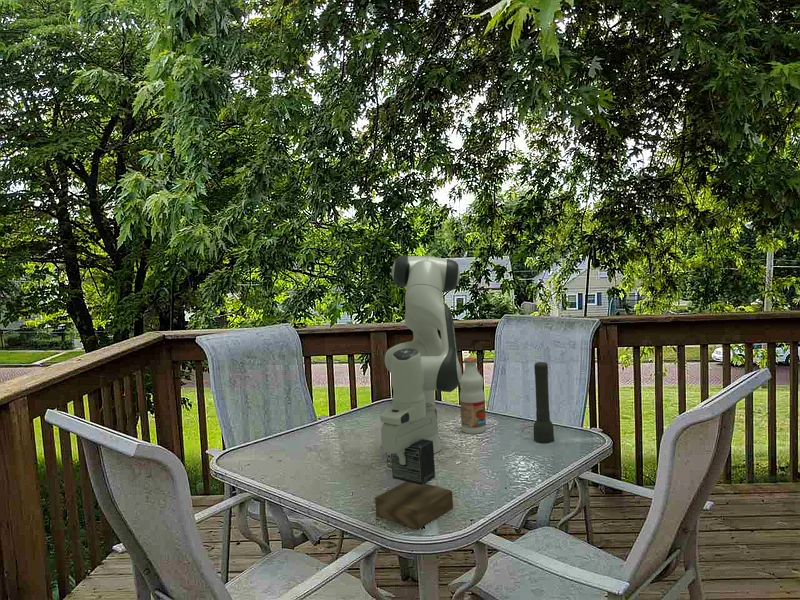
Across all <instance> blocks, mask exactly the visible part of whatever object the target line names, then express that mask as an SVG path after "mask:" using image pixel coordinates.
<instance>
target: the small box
mask: <svg viewBox="0 0 800 600" xmlns="http://www.w3.org/2000/svg"><path fill="white" fill-rule="evenodd" d="M434 454H435V453H434V450H433V441H430V440H424V439H423V440H420V441H418V442H416V443H414V444H412V445H410V446H409V447H408V448H405V452H404V455H405V457H408V463H407V464H405V465H401V464H400V462H399V457H398V456H397V454H396V453H395V454H391V453H390V457H391V472H392V473H391V474H392V479H394V480H398V481H399V480H400V481H401V482H406V481H407V482H411V483H415V484H419V485H424V484H428V482H430V481H432V480H434V479H436V468H435V466H436V465H435V455H434Z"/></svg>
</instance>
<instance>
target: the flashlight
mask: <svg viewBox="0 0 800 600" xmlns="http://www.w3.org/2000/svg"><path fill="white" fill-rule="evenodd" d="M533 365H534V367H533V368H534V382H535V407H536V408H535V415H536V420H535V421H534V422H533V423H534V424H533V442H535V441H536V442H535V443H538V444H551V443H553V442H554V441H555V437H554V436H555V434H554V433H555V432H554V430H555V429H554V425H553V422H552V421H551V417H550V398H549V396H550V395H549V365H548V363H547V362H543V361H539V362H535V363H534V364H533ZM550 442H551V443H550Z"/></svg>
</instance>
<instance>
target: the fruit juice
mask: <svg viewBox="0 0 800 600" xmlns="http://www.w3.org/2000/svg"><path fill="white" fill-rule="evenodd" d="M477 362H478V359H477V358H476V357H464V359H463V364H464V370H463V372H462V378H461V383H460V385H459V386H460V391H459V404H460V406H459V407H460V422H461V425H460V426H461V431H462V432H463V433H465V434H471V435H474V434H480V433H481V434H482V433H484V432H486V429H487V421H486V420H487V419H486V417H487V416H486V399H485V397H486V396H485V391H484V389H483V387H484V378H483V376H482V375H481V374H480V372H479V369H478V366H477Z"/></svg>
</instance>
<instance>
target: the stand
mask: <svg viewBox="0 0 800 600" xmlns="http://www.w3.org/2000/svg"><path fill="white" fill-rule="evenodd" d="M374 503H375V516H377V517H380V518H383V519H387V520H390V521H392V522H395V523H398V524H401V525H405V526H408V527H410V528H413V529H417V530H420V528H421V529H422V528H424V527H425V526H427V525H428V523H429V524H430V523H432V522H433V521H435V520H436V519H438V518H439V517H441V516H443V515H444V514H446V513H448V512H449V511H451V510H453V509H454V502H453V490H451V489H448V488H444V487H440V486H438V485H437V486H436V485H431V484H429V483H426V484H424V485H419V484H415V483H411V482H407V481H403V483H400V484H398V485H397V486H395V487H392V488H391V489H389V490H387V491H385V492H383V493H381V494H379V495H377V496H375V497H374ZM431 521H432V522H431ZM426 524H427V525H426ZM423 526H424V527H423Z"/></svg>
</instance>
